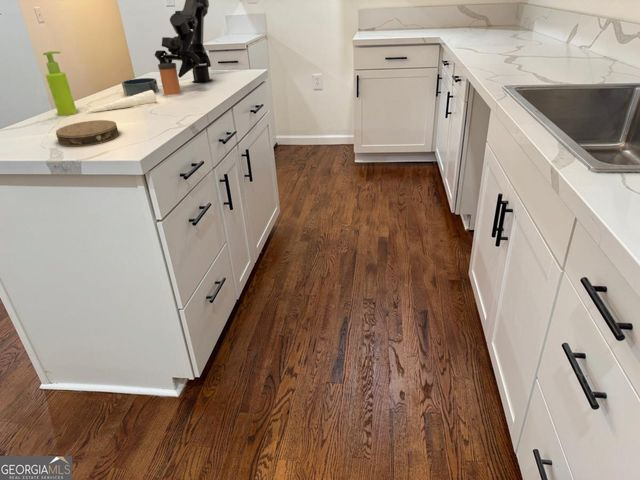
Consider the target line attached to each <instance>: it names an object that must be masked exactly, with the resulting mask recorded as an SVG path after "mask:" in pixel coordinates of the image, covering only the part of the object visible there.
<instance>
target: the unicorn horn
mask: <svg viewBox="0 0 640 480" xmlns="http://www.w3.org/2000/svg"><path fill="white" fill-rule="evenodd" d="M157 101H158V100H157V96H156V93H154V92H153V90H149V91H146V92H143V93H140V94H136V95H133V96H127V97H123V98H121V99H117V100H114V101H112V102H108V103H105V104H102V105H99V106H96V107H94V108H91V109H88V110H87V111H86V112H87V113H95V112H96V113H97V112H105V111H113V110H119V109H127V108H133V107H135V106H141V105H147V104H156V103H157Z"/></svg>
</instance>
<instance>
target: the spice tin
mask: <svg viewBox="0 0 640 480" xmlns="http://www.w3.org/2000/svg"><path fill="white" fill-rule="evenodd" d="M157 67H158V71H159V76H160V80H161V85H162V90H163V94H164V95H166V96H173V95H179V94H181V86H180V81H179V80H180V79H179V77H178V70H177V63H176V62H172V63H162V64H160V63H157Z"/></svg>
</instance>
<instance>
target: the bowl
mask: <svg viewBox="0 0 640 480" xmlns="http://www.w3.org/2000/svg"><path fill="white" fill-rule="evenodd" d="M157 81H158V80H157V78H153V77H142V78H140V77H139V78H134V79H133V78H132V79H127V80H123V81H122V82H121V86H122V90H123V94H124V95H125V96H127V97H130V96H133V95H136V94H140V93H143V92H146V91H149V90H153V92H154V93H155V94H157V93H158V92H159V85H158V82H157Z"/></svg>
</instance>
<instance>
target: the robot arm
mask: <svg viewBox="0 0 640 480" xmlns="http://www.w3.org/2000/svg"><path fill="white" fill-rule="evenodd" d="M209 8H210V1H209V0H185V1H184V5H183V9H182V10H175V12H174V13H173V14H172V15H170V18H169V22H170V24H171V26H172V28H173V30H174V32H175V34H177V36H176V35H175V36H173V37H166V36H164V37H162V38H161V47H163V48H166V49H167V51H168V52H169V53H168V52H167V51H166V50H156V51H155V53H154V57H155V58H156V59H157V60H158V62H159V64H162V63H173V61H179V62H181V64H180V68H179V71H178V73H177V75H178V78H179V79H180V78H182V77H184V75H186V74H187V73H189V72H190V70H192V76H193V80H192V83H197V84H198V83H201V84H204V83H208V82H212V81H213V78H211V77H210V71H209V68H211V67H212V64H211V63H212V62H211V60H210V56H209V54H208V52H207V50H206V48H205V46H204V25H205V24H204V23H205V17H206V15H207V14H208V11H209Z"/></svg>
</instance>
